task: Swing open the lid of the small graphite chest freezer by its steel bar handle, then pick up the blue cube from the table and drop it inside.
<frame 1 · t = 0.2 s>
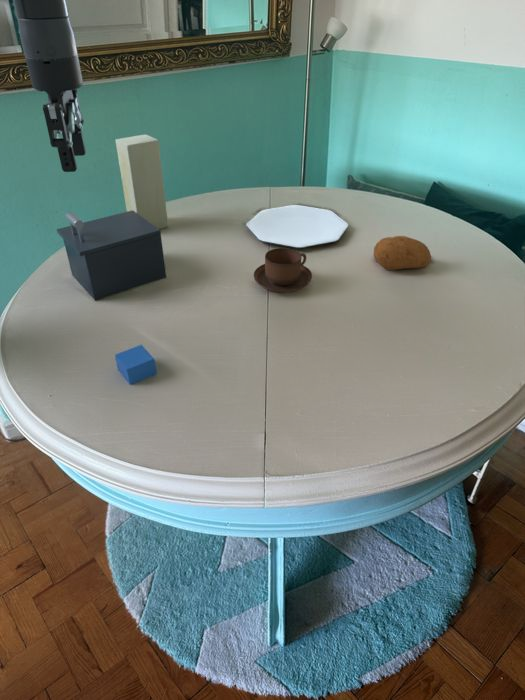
hand: (75, 162, 87), 27 cm above the table, tool pointing down, fingers open, 8 cm apart
cup and saucer: (282, 283, 108), on the table
potato: (400, 267, 114), on the table
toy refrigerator: (148, 226, 131), on the table
freezer: (119, 276, 110), on the table
freezer lid: (106, 221, 103), point 13 cm above the table, hinge at 0.0°
blue cube: (138, 379, 83), on the table
plate: (297, 230, 129), on the table
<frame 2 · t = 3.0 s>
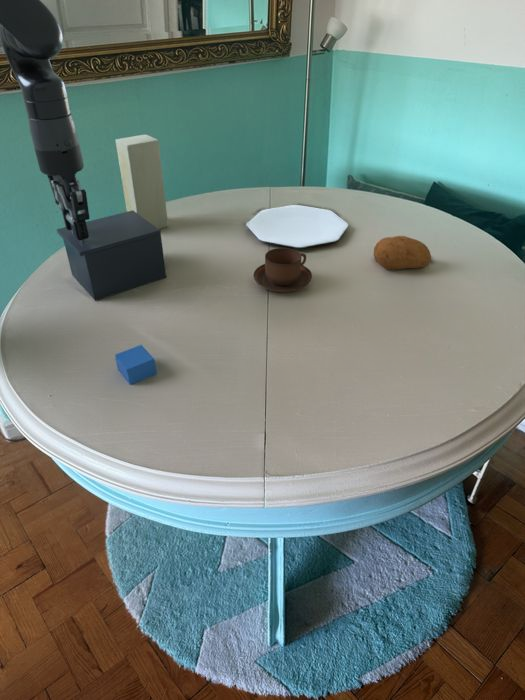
hand: (77, 233, 100), 12 cm above the table, tool pointing down, fingers closed on freezer lid, 5 cm apart
freezer lid: (106, 221, 103), point 13 cm above the table, hinge at 0.0°, touching gripper
everything else where it was.
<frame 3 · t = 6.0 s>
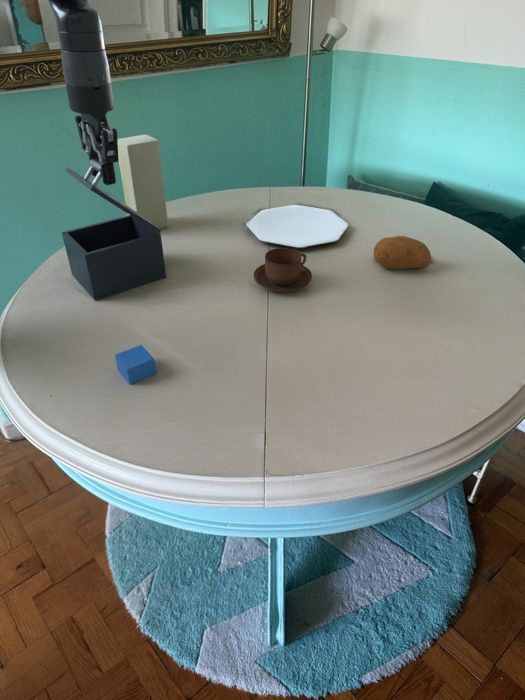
hand: (103, 179, 98), 21 cm above the table, tool pointing down, fingers closed on freezer lid, 5 cm apart
freezer lid: (120, 191, 101), point 18 cm above the table, hinge at 43.9°, touching gripper
everything else where it was.
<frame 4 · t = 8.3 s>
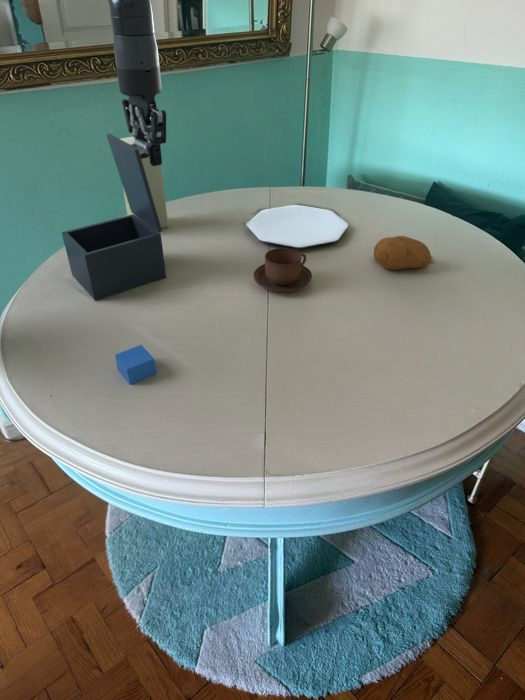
hand: (149, 161, 102), 22 cm above the table, tool pointing down, fingers closed on freezer lid, 5 cm apart
freezer lid: (144, 179, 103), point 19 cm above the table, hinge at 81.2°, touching gripper
everything else where it was.
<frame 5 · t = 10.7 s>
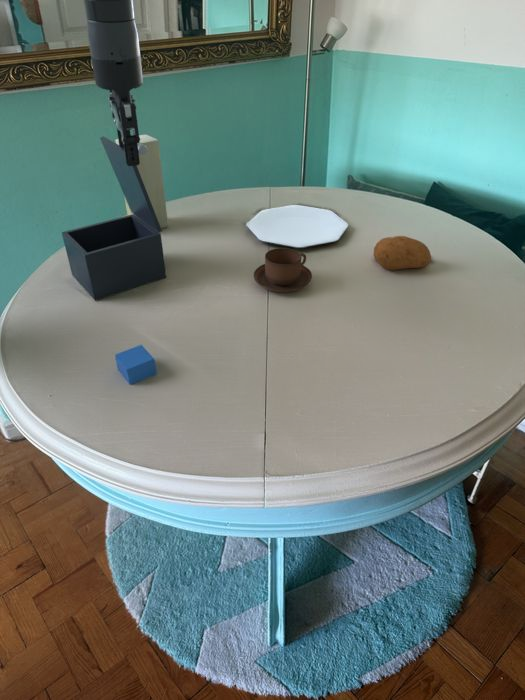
hand: (129, 155, 91), 26 cm above the table, tool pointing down, fingers open, 8 cm apart
freezer lid: (141, 180, 103), point 19 cm above the table, hinge at 76.2°, touching gripper
everything else where it was.
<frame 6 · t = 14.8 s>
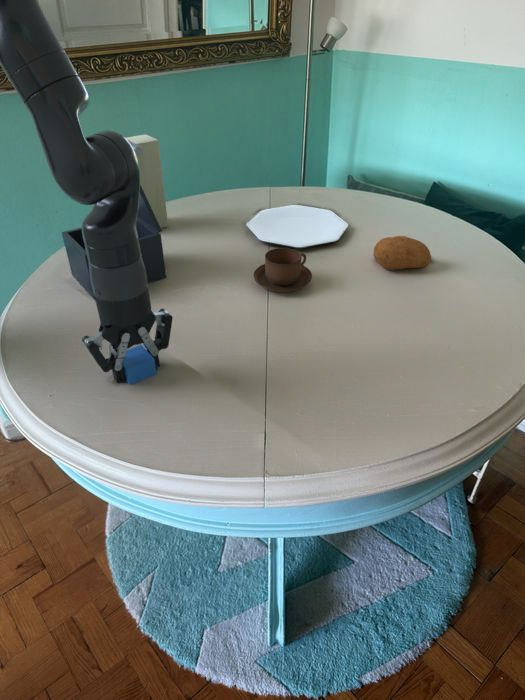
hand: (138, 377, 83), 0 cm above the table, tool pointing down, fingers closed on blue cube, 4 cm apart
freezer lid: (138, 180, 102), point 19 cm above the table, hinge at 72.8°
blue cube: (138, 379, 83), on the table, touching gripper
everything else where it was.
when the fingers open (8 cm above the table, at t = 22.9 s): blue cube drops 7 cm, resting on freezer.
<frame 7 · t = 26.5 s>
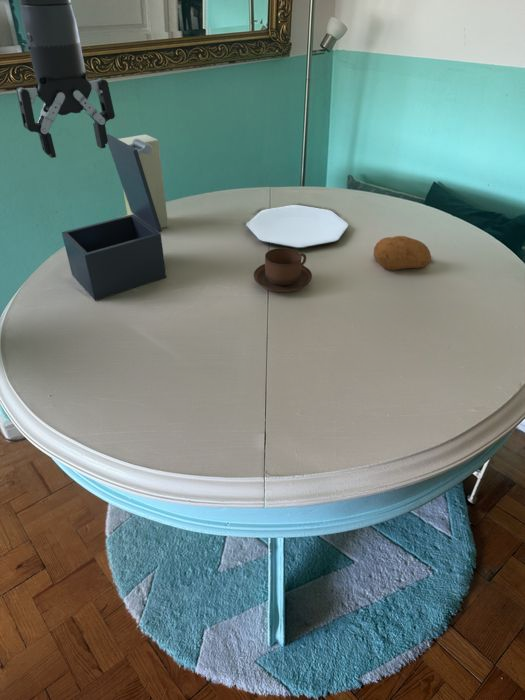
hand: (77, 151, 87), 28 cm above the table, tool pointing down, fingers open, 8 cm apart
freezer lid: (143, 179, 103), point 19 cm above the table, hinge at 80.2°
blue cube: (109, 275, 109), point 1 cm above the table, touching freezer
everything else where it was.
at the end: freezer lid at +80° (first picture: +0°); blue cube inside the target area in the freezer (2.0 cm from its centre), point 0.9 cm above the freezer's base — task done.
